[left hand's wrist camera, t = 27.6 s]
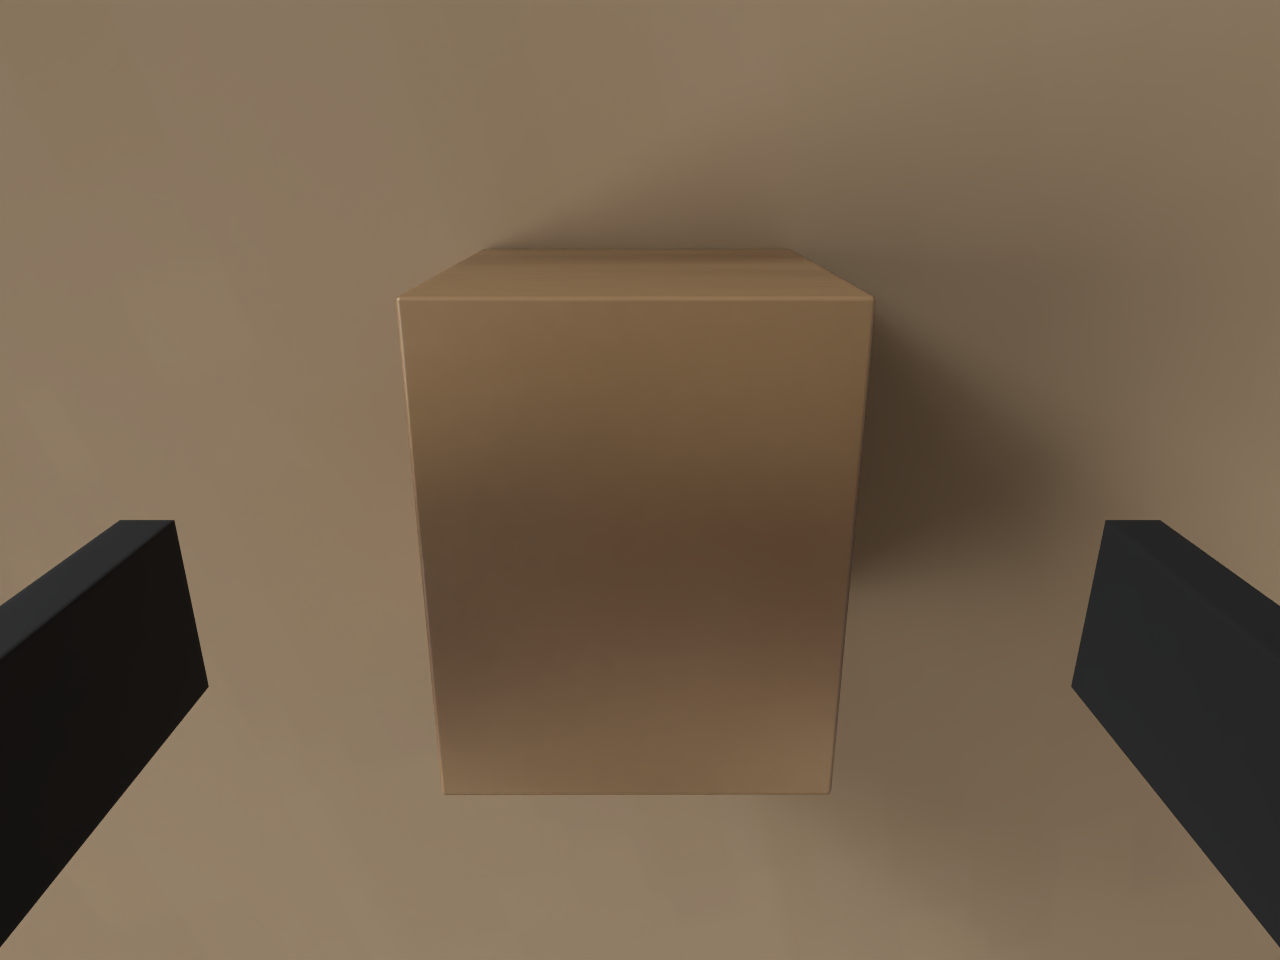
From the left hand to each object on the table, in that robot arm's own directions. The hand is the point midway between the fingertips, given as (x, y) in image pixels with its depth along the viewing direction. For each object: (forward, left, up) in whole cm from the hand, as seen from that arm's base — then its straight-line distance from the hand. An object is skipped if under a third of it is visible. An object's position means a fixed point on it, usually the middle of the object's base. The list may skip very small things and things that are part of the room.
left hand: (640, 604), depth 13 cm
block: (0, 0, -10) cm, 10 cm away
